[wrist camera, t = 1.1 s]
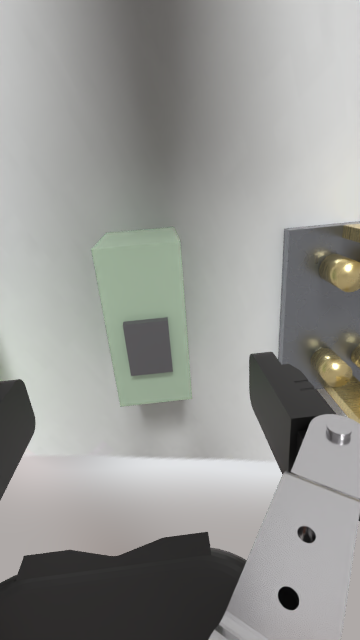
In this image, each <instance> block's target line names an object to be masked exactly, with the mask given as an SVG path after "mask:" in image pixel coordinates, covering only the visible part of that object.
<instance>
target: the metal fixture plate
mask: <svg viewBox="0 0 360 640" xmlns="http://www.w3.org/2000/svg"><path fill="white" fill-rule="evenodd" d="M278 360H279V362H280V363H281V365H283V364H290V365H292V366H293V367H295V368H297V369H299V370H300V371H301V372H302V373H303V374H304V375H305V376H306V378H307V379H308V382H310V383H311V384H312V385H313V386H314V389H321V388H325V390H326V391H327V392H328V393H329V394H330V396H331V397H332V398H333V399H334V401H335V402H336V403H337V404H338V405H339V407H340V408H341V409H342V410H343V412H344V413H345V414H346V415H347V416H348V418H350V419H353V420H354V421H356V422H358V423H359V424H360V222H349V223H339V224H329V225H318V226H308V227H297V228H287V229H285V231H284V252H283V273H282V294H281V315H280V336H279V357H278Z"/></svg>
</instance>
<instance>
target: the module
mask: <svg viewBox="0 0 360 640" xmlns="http://www.w3.org/2000/svg"><path fill="white" fill-rule="evenodd" d="M91 251H92V257H93V262H94V267H95V273H96V278H97V283H98V289H99V294H100V299H101V305H102V310H103V316H104V321H105V326H106V332H107V337H108V342H109V348H110V353H111V358H112V364H113V369H114V375H115V380H116V385H117V391H118V396H119V401H120V407H123V406H132V405H141V404H150V403H160V402H169V401H178V400H187V399H192V392H191V378H190V365H189V351H188V338H187V325H186V311H185V298H184V284H183V271H182V258H181V244H180V240H179V237H178V235H177V233H176V230H175V228H174V227H167V228H156V229H144V230H133V231H122V232H110V233H106V234H105V235H104V236H103V237H102V238H101V239H100V240H99V241H98V242H97V244H96V245H95V246H94V247H93V248H92V249H91Z"/></svg>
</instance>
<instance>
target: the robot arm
mask: <svg viewBox="0 0 360 640" xmlns="http://www.w3.org/2000/svg"><path fill="white" fill-rule="evenodd" d="M249 390H250V400H251V404H252V408H253V410H254V412H255V415H256V417H257V419H258V421H259V423H260V426H261V428H262V430H263V432H264V434H265V437H266V439H267V441H268V443H269V446H270V448H271V450H272V452H273V454H274V457H275V459H276V461H277V463H278V465H279V468H280V470H281V472H282V474H283V475H282V477H281V480H280V482H279V485H278V487H277V490H276V492H275V494H274V497H273V499H272V501H271V504H270V506H269V509H268V511H267V513H266V516H265V518H264V521H263V523H262V526H261V528H260V530H259V533H258V535H257V537H256V540H255V542H254V545H253V547H252V549H251V552H250V554H249V557H248V559H247V560H245V559H243V558H241V557H239V556H237V555H235V554H233V553H230V552H227V551H224V550H220V549H215V548H210V543H209V536H208V532H204V533H196V534H188V535H180V536H173V537H165V538H161V539H159V540H156V541H154V542H152V543H149V544H147V545H144V546H142V547H139V548H137V549H134V550H132V551H129V552H127V553H124V554H122V555H119V556H106V555H100V554H93V553H86V552H80V551H73V550H65V551H58V552H50V553H43V554H35V555H27V556H24V558H23V561H22V564H21V566H20V569H19V572H18V575H15V576H13V577H11V578H9V579H7V580H5V581H3V582H1V583H0V640H341V637H342V630H343V623H344V617H345V610H346V603H347V596H348V590H349V583H350V576H351V569H352V562H353V555H354V549H355V542H356V535H357V528H358V521H360V424H359V423H358V422H356V421H354V420H353V419H350V418H348V417H345V416H341V415H336V413H335V412H334V411H333V410H332V408H331V407H330V406H329V405H328V404H327V402H326V401H325V400H324V399H323V397H322V396H321V395H320V394H319V392H318V391H317V390H316V389H314V386H313V385H312V384H311V383H310V382H308V379H307V378H306V376H305V375H304V374H303V373H302V372H301V371H300V370H299V369H297V368H295V367H293V366H292V365H290V364H283V365H281V363H280V362H279V360H278V359H277V358H276V356H275V355H274V354H273V352H265V353H256V354H251V355H250V359H249ZM34 430H35V416H34V412H33V409H32V406H31V403H30V399H29V396H28V393H27V390H26V387H25V384H24V382H23V381H22V380H20V379H18V380H9V381H0V500H1V498H2V496H3V494H4V492H5V490H6V488H7V486H8V484H9V482H10V480H11V478H12V476H13V474H14V472H15V470H16V468H17V466H18V463H19V462H20V460H21V458H22V456H23V454H24V452H25V450H26V448H27V446H28V444H29V442H30V440H31V438H32V436H33V434H34Z"/></svg>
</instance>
